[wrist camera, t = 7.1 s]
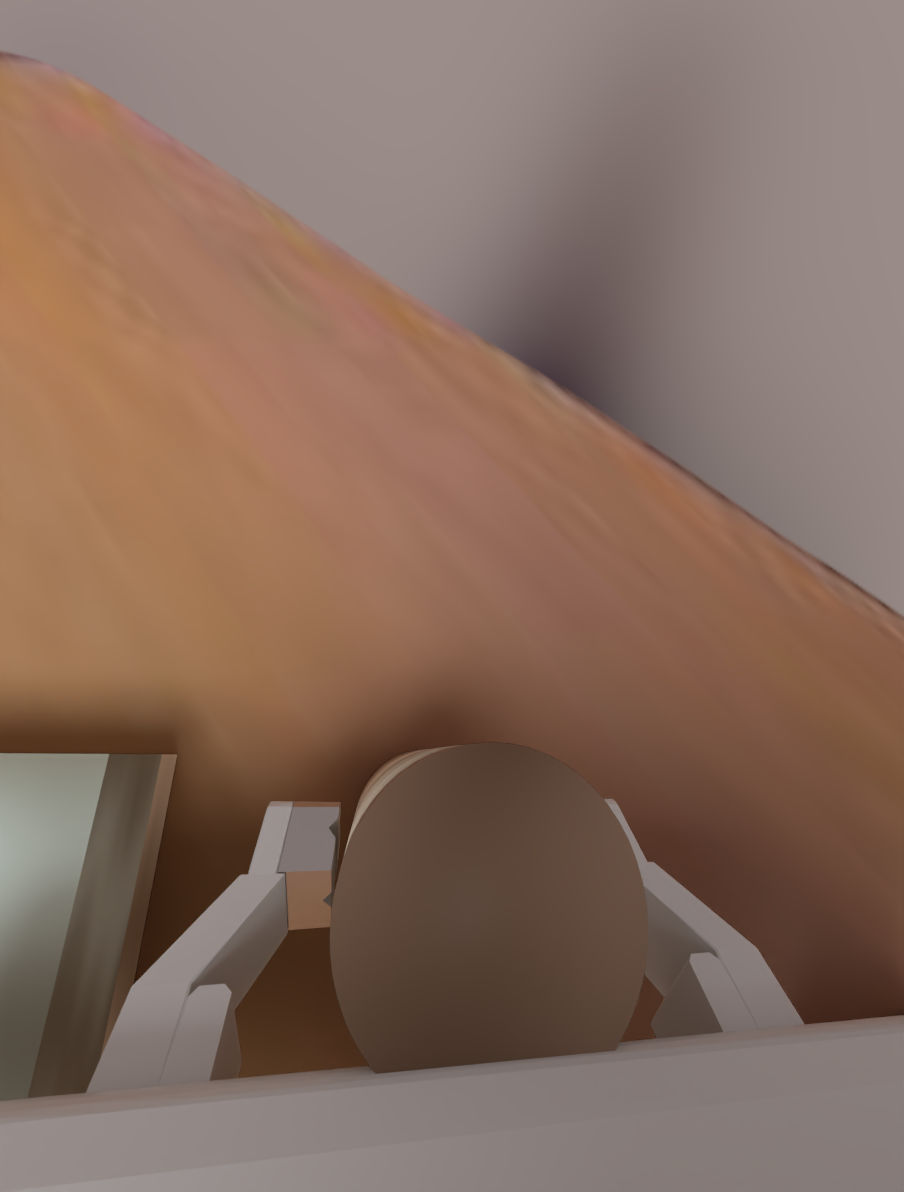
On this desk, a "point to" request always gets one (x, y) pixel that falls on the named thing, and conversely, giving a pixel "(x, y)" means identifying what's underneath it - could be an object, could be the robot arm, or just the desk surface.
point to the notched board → (72, 907)
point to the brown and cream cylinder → (485, 912)
